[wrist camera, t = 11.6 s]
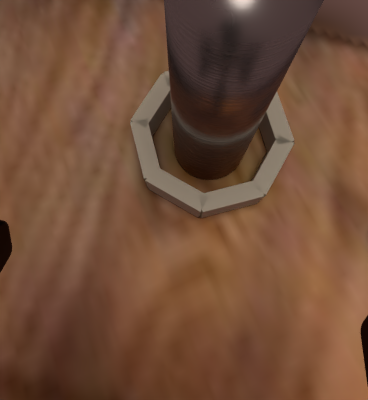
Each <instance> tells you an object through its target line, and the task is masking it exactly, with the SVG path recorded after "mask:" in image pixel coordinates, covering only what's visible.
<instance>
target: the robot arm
mask: <svg viewBox="0 0 368 400" xmlns="http://www.w3.org/2000/svg"><path fill="white" fill-rule="evenodd" d="M11 252H12V243H11V237H10V231H9V226H8V224H7V222H5V221H3V220H0V272H1V271H2V269H3V267H4V266H5V264H6V262H7V260H8V259H9V257H10V255H11ZM361 340H362V347H363V355H364V362H365V370H366V377H367V385H368V316H367V317H366V318H365V320H364V321H363V323H362V326H361Z"/></svg>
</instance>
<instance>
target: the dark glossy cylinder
mask: <svg viewBox="0 0 368 400" xmlns="http://www.w3.org/2000/svg"><path fill="white" fill-rule="evenodd" d="M323 1H324V0H164V5H165V20H166V35H167V50H168V64H169V79H170V94H171V109H172V123H173V138H174V151H175V155H176V158H177V160H178V162H179V164H180V165H181V167H182V168H183V169H184V170H185V171H186V172H188V173H189V174H190V175H192V176H194V177H197V178H200V179H205V180H214V179H219V178H222V177H225V176H227V175H229V174H230V173H231V172H233V171H234V170H235V169H236V168H237V166H238V165H239V163H240V161H241V160H242V158H243V156H244V154H245V152H246V150H247V148H248V146H249V144H250V142H251V140H252V138H253V136H254V134H255V132H256V131H257V129H258V127H259V125H260V123H261V121H262V119H263V117H264V115H265V113H266V111H267V109H268V107H269V105H270V103H271V101H272V100H273V98H274V96H275V94H276V92H277V90H278V88H279V86H280V84H281V82H282V80H283V78H284V76H285V74H286V72H287V70H288V69H289V67H290V65H291V63H292V61H293V59H294V57H295V55H296V53H297V51H298V49H299V47H300V45H301V43H302V41H303V39H304V37H305V36H306V34H307V32H308V30H309V28H310V26H311V24H312V22H313V20H314V18H315V16H316V14H317V12H318V10H319V8H320V6H321V4H322V3H323Z"/></svg>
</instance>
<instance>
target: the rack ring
mask: <svg viewBox="0 0 368 400" xmlns="http://www.w3.org/2000/svg"><path fill="white" fill-rule="evenodd" d="M170 108H171V94H170V79H169V71H166V72H164V74H161V75H160V77H159V78H158V80H157V81H156V83H155V84H154V86H153V87H152V89H151V90H150V92H149V93H148V95H147V96H146V98H145V99H144V101H143V102H142V104H141V105H140V107H139V108H138V110H137V111H136V113H135V114H134V116H133V117H132V119H131V122H130V124H131V128H132V132H133V136H134V140H135V144H136V148H137V152H138V156H139V160H140V164H141V169H142V173H143V177H144V180H145V182H146V185H147V187H148V188H149V190H151V191H153V192H154V193H156V194H158V195H160V196H161V197H163V198H165V199H167V200H168V201H170V202H172V203H174V204H175V205H177V206H179V207H181V208H182V209H184V210H186V211H188V212H189V213H191V214H193V215H195V216H196V217H198V218H199V216H200V217H201V218H203V217H207V216H211V215H215V214H219V213H223V212H227V211H230V210H234V209H238V208H242V207H246V206H250V205H253V204H257V203H258V202H259V201H260V200H261V199H262V198H263V197H264V196H265V195H266V194H267V192H268V190H269V189H270V187H271V185H272V183H273V181H274V179H275V178H276V176H277V174H278V172H279V170H280V168H281V167H282V165H283V163H284V161H285V159H286V157H287V156H288V154H289V152H290V150H291V148H292V146H293V145H294V143H293V142H294V138H293V135H292V133H291V130H290V127H289V124H288V121H287V118H286V116H285V113H284V110H283V107H282V104H281V102H280V99H279V96H278V93H277V92H276V94H275V96H274V98H273V100H272V101H271V103H270V105H269V107H268V109H267V111H266V113H265V115H264V117H263V119H262V121H261V123H260V125H259V129H260V132H261V135H262V138H263V141H264V144H265V147H266V150H267V154H266V155H265V157H264V159H263V161H262V162H261V164H260V166H259V168H258V170H257V171H256V173H255V175H254V177H253V179H252V180H251V181H250V182H246V183H242V184H238V185H234V186H230V187H227V188H223V189H219V190H215V191H211V192H207V193H202V192H201V191H199V190H197V189H195V188H194V187H192V186H190V185H188V184H186V183H185V182H183V181H181V180H179V179H178V178H176V177H174V176H172V175H171V174H169V173H167V172H165V171H163V170H162V169H160V167H159V163H158V159H157V155H156V151H155V147H154V143H153V139H152V136H153V134H154V133H155V131H156V130H157V128H158V127H159V125H160V124H161V122H162V120H163V119H164V117H165V116H166V114H167V113H168V111H169V110H170Z"/></svg>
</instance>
